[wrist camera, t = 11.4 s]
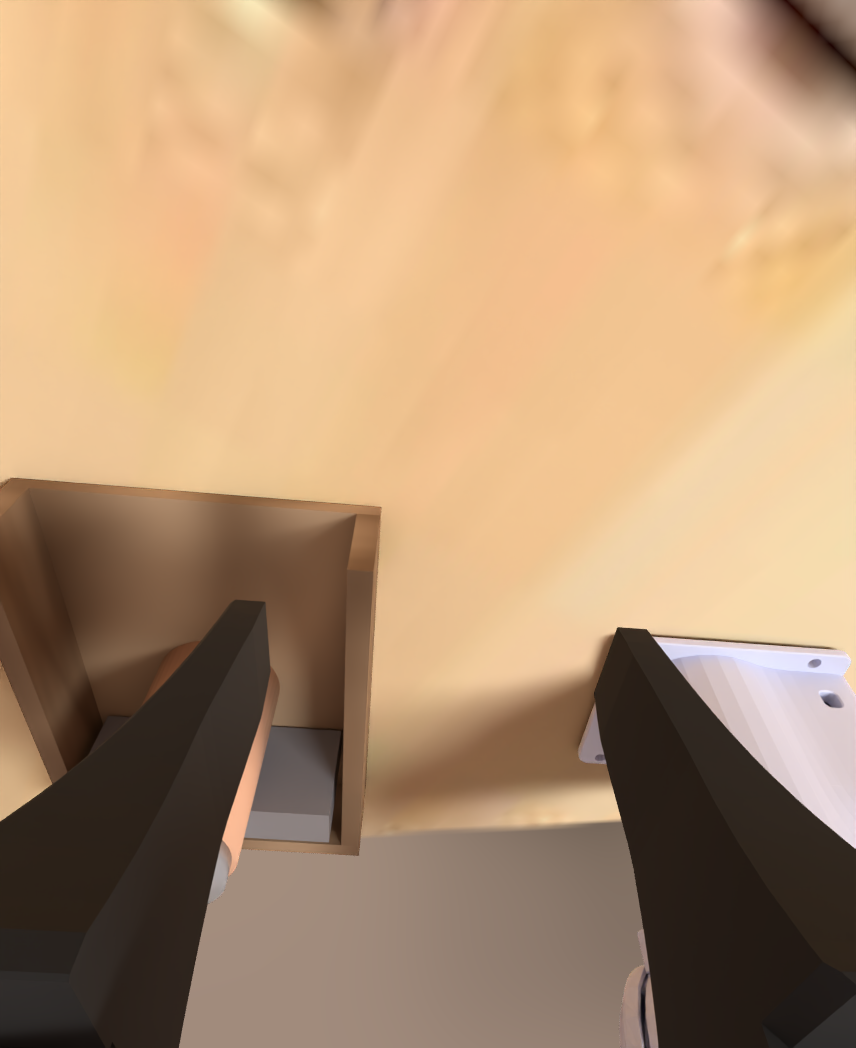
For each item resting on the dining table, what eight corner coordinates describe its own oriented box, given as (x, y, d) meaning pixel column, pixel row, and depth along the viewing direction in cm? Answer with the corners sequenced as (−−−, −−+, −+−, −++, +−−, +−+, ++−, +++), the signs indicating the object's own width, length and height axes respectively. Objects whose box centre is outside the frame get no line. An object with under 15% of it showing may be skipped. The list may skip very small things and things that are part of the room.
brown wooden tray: (381, 507, 23) (373, 571, 20) (365, 785, 33) (358, 855, 30) (11, 477, 22) (-51, 539, 20) (108, 770, 32) (76, 839, 29)
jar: (279, 646, 26) (228, 841, 20) (280, 725, 29) (235, 917, 23) (152, 634, 26) (57, 828, 19) (165, 715, 29) (86, 907, 22)
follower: (340, 730, 29) (324, 845, 25) (340, 758, 30) (324, 871, 26) (108, 715, 29) (51, 829, 25) (116, 744, 30) (63, 857, 26)
